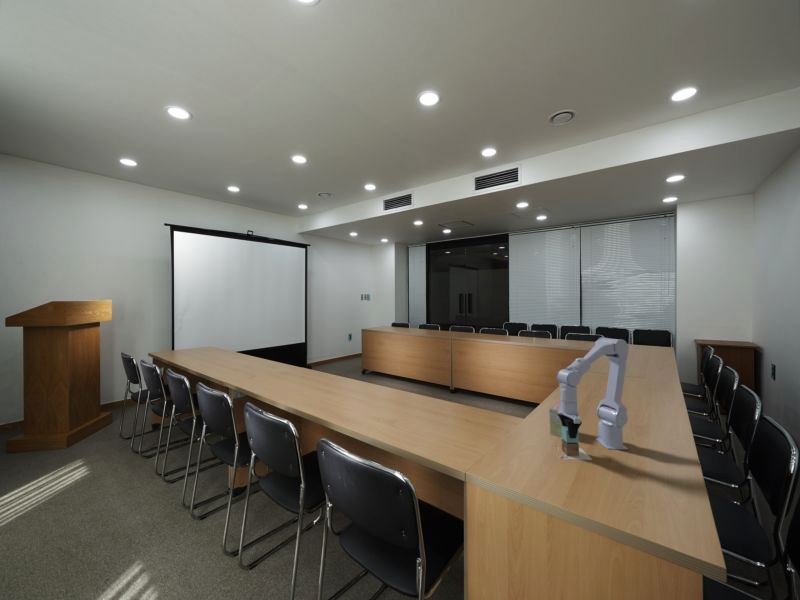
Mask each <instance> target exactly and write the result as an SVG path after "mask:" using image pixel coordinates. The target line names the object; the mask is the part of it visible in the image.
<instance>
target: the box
mask: <svg viewBox="0 0 800 600" xmlns="http://www.w3.org/2000/svg"><path fill="white" fill-rule="evenodd" d="M559 406H561V403H557V404H554V405H553V406H551V407H550V408H549V409H548V414H549V435H551V436H553V435H554V437H556V438H557V437H558V438H561V439H563V438H562V429H561V426H562V423H561V420H560V418H559V416H558V414H559V413H558V411H559Z"/></svg>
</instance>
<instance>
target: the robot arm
mask: <svg viewBox="0 0 800 600" xmlns="http://www.w3.org/2000/svg"><path fill="white" fill-rule="evenodd" d="M629 349H630V345H629V344H628V343H627V341H626V340H625V339H622V338H619V339H617V338H609V337H598V339H597V340H596V341H595V342H594V346H593V347H592V348H591V349H590V350H589V351H587V352H588V353H587V354H585V355H584V357H578V358H575V359H574V361H573V362H572V363H571V364H569V365H568V366H567V367H566V368H565V369H564V368H563V369H560V370H559V371H558V372H557V376H556V381H557V382H558V386H559V389H560V404H561V406H559V411H558V413H559V414H558V416H559V418H560V420H561V423H562V426H567V427H568V433H569V437H570V438H576V436H577V432H578V431H579V429H580V426H582V423H583V422H582V421H581V418H580V416H579V412H578V387H577V386H578V385H579V384H580V382H581V379H582V377H583V376H584V375H585V374H586V373H587V372H588V371H590V370H591V367H592V366H591V365H592V364H593V363H594V362H596V361H598V359H600V358H601V357H603V356H605V357H607V358H608V359H609V361H610V366H609V373H608V378H607V387H606V392H605V398H603V399H601V400H600V401H599V404H598V406H597V409H596V416H597V418H598V419H599V421H598V424H597V437H596V438H595V440H596V441H597V442H598V443H600V444H601V445H602V446H603V447H605V449H607V450H629V448H628V447H627V446H626V445H624V434H623V433H624V430H623V427H625V425H626V424H627V422H628V419H629V418H628V408H627V407H626V406H625V405H624V404H623V402H622V396H623V391H624V390H623V389H624V383H625V377H626V368H627V362H628V356H629V351H630V350H629Z"/></svg>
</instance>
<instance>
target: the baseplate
mask: <svg viewBox="0 0 800 600" xmlns="http://www.w3.org/2000/svg"><path fill="white" fill-rule="evenodd" d="M552 447H553V446H552ZM557 447H558V450H559V447H560V446H557ZM553 448H554V447H553ZM563 453H564V452H563ZM558 457H559V456H558ZM558 457H557V458H558ZM560 457H561V458H564V459H563V460H581V461H582V460H585V461H587V460H588V461H592V460H593V459H592V458H591V456H590V455H589V454H588V453H586V451H584V450H583V449H582V447H579V456H566V454H565V456H560Z"/></svg>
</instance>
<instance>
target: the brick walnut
mask: <svg viewBox="0 0 800 600" xmlns="http://www.w3.org/2000/svg"><path fill="white" fill-rule="evenodd" d="M579 444H580V443H567V442H566V441H565V440H564V439H563V438H561V447H562V451H563V452H564V453H565V454H566V456H579V448H580V445H579Z"/></svg>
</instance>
